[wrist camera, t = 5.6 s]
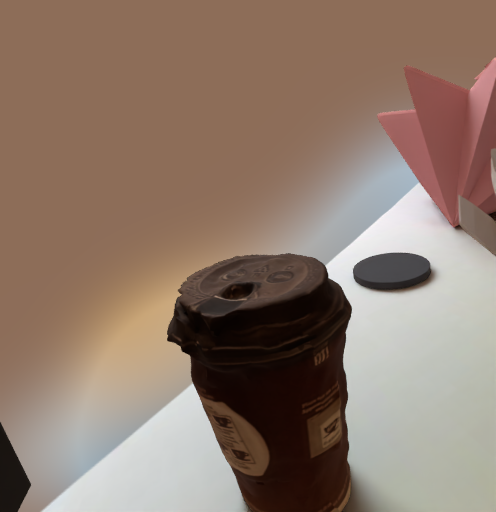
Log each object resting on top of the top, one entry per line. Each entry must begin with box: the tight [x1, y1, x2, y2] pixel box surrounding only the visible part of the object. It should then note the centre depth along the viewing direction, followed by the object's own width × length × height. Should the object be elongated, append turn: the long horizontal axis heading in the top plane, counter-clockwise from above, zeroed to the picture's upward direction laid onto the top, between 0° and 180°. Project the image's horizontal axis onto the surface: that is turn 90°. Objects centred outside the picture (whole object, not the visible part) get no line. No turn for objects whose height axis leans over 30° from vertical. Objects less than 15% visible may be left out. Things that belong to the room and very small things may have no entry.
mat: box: [353, 253, 431, 289], centre depth 47 cm, size 8×8×1 cm
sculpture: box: [377, 57, 496, 227], centre depth 58 cm, size 28×20×21 cm
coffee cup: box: [167, 253, 352, 512], centre depth 22 cm, size 9×8×13 cm
